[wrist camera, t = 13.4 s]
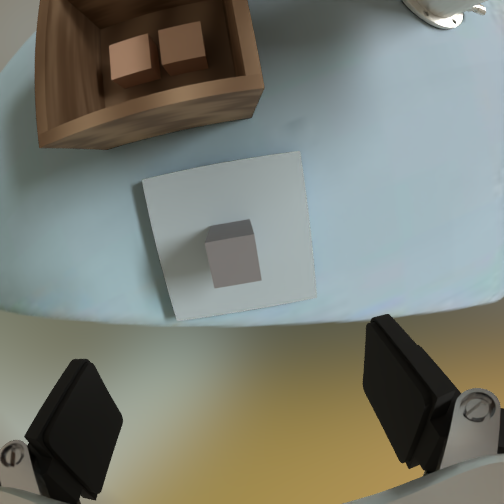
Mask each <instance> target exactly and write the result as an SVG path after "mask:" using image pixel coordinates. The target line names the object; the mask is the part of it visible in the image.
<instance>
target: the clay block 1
mask: <svg viewBox="0 0 504 504" xmlns="http://www.w3.org/2000/svg"><path fill="white" fill-rule="evenodd" d="M109 53H110V68H111V80H112V81H114V82H115V83H117V84H118V85H120V86H122V87H123V88H125V89H126V88H129V87H133V86H136V85H140V84H143V83H147V82H150V81H154V80H158V79H161V75H160V67H159V58H158V49H157V46H156V44H155V43H154V41H153V40H152V39H151V37H150V36H149V34H148V33H147V34H144V35H140V36H137V37H134V38H130V39H127V40H124V41H121V42H118V43H115V44H112V45H110V46H109Z"/></svg>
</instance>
